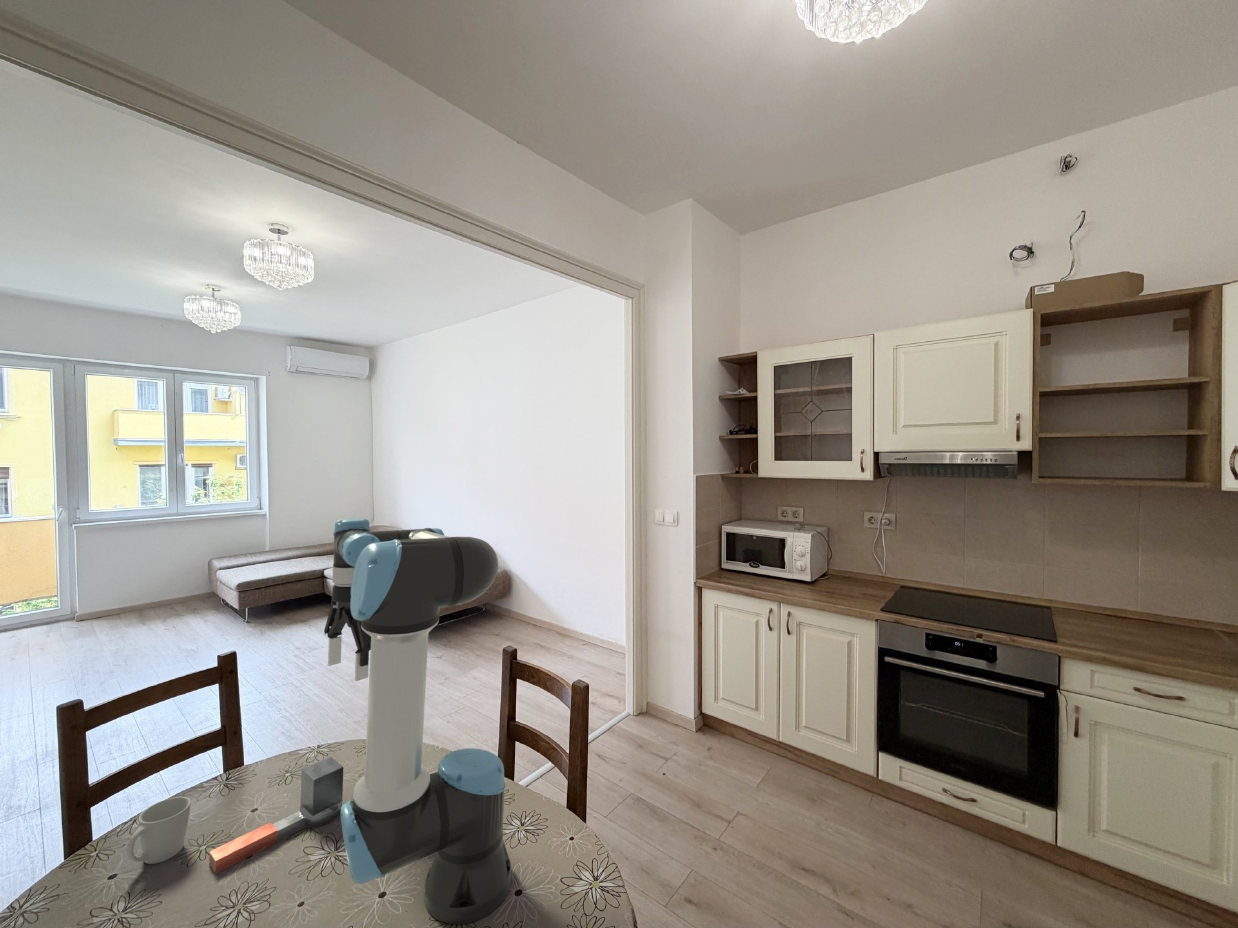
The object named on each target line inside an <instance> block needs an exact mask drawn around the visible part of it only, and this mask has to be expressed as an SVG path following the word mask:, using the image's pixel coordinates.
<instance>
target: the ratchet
mask: <svg viewBox="0 0 1238 928" xmlns="http://www.w3.org/2000/svg"><path fill="white" fill-rule="evenodd" d="M342 805H343V801H342V802H340V803H338V804H336V805H334V806H332V807H330V808H328V809H326V810H324V811H322V812H320V813H318V814H316V815H314V816H312V815H311V814H310V813H309V812H308V811H307V810H306V809H305V808H304V807H303V806H302V805H301V804H300V806H299V810H298V811H297V812H294V813H293V814H291V815H289V816H287V817H284V818H282V819H280V820H278V821H276V822H274V823H272V822H268V823H265V824H263V825H262V826H259V827H258V828H255V829H254V830H252V831H249V832H247V833H246V834H243V835H241V836H239V837H237V838H235V839H233V840H231V841H229V842H227V843H224V844H223V845H220V846H218V847H216V848H213V849H212V850H210V851H209V857H208V858H209V859H208V861H209V863H208V865H209V867H210V868H211V870H212V871H213V873H214V874H215V875H216V874H218V873H220V872H222V871H225V870H226V869H227V868H230V867H231V866H233V865H235V864H237V863H239V862H241V861H243V860H244V859H248V858H249V857H251V856H252V855H254V854H256V853H259V852H260V851H263V850H264V849H267V848H268V847H271V846H272V845H274V844H276V843H278V841H280V840H282V839H284V838H286V837H288V836H289V835H292V834H294V833H296V832H297V831H299V830H302V829H303V828H306V827H307V828H316V827H321V826H323V825H326V824H329V823H331V822H332V821H334V820H335V819H337V818H338V816H339V815H341V807H342Z"/></svg>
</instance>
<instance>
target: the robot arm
mask: <svg viewBox="0 0 1238 928" xmlns="http://www.w3.org/2000/svg"><path fill="white" fill-rule="evenodd" d="M498 571H499V560H498V555H497V553H496V551H495V550H494V548H493V547H492V545H490V544H489V543H488V542H487V541H485V540H483V539H481V538H477V537H472V536H447V535H445V533H444V531H443V529H441V528H431V527H424V528H414V529H411V528H410V529H399V530H398V529H395V530H394V529H393V530H376V531H375V530H374V531H373V530H372V531H371V528H370V521H369V520H368V519H367V518H360V517H359V518H357V517H355V518H354V517H353V518H341V519H338V520H336V521H335V523H334V532H333V564H332V576H331V577H332V578H331V582H332V583H333V585H332V589H331V601H330V609H329V613H328V616H327V620H326V623H325V626H324V629H323V631H324V635H325V634H326V635H327V638H328V653H327V654H328V655H327V666H328V667H331V666H334V665H338V664H341V663H342V635H343V629H344V628H345V625H346V624H347V625H346V626H347V627H348V628H350V630H351V633H352V636H353V639H354V642H355V645H356V649H357V650H355V651H354V653H355V663H354V664H355V665H354V667H355V668H354V669H355V670H354V681H355V682H358V681H360V680H365V679H367V678H369V681H368V695H367V696H368V699H367V717H366V719H367V720H366V736H365V738H366V739H365V741H366V742H365V760H364V774H363V775H362V776H361V778H360V779H359V780H358V781H357V783H356V784H355V786H354V789H353V792H352V800H348V801H347V802H346V803H344V804H342V807H341V813H340V822H341V823H340V824H341V831H342V837H343V843H344V844H343V845H344V850H345V856H346V861H347V865H348V871H349V874H350V877H351V879H352V881H353V882H354V883H355V884H358V885H362V884H366V883H369V882H372V881H374V880H376V879H379V878H381V879H382V878H384V877H386V875H388V874H390V873H393V872H395V871H397V870H399V869H401V868H403V867H406V866H409V865H410V864H413V863H415V862H417V861H419V860H422V859H425V858H427V857H428V856H431V855H433V854H434V855H433V856H434V857H433V858H432V861H431V866H430V868H429V870H428V872H427V874H426V879H425V884H424V898H423V899H424V906H425V907H426V910H427V912H428V913H429V915H431V917H433V918H434V919H436V920H437V921H440V922H442V923H445V924H451V925H452V924H453V925H463V924H468V923H472V922H475V921H478V920H481V919H482V918H483V919H484V917H487V916H488V915H490V914H491V913H493V912H494V911H496V909H497V908H498V907H500V905H501V904H502V903H503V902H504V900H505V899H506V898H507V897H508V896H507V895H508V894H509V892H510V888H511V884H512V863H511V859H510V856H509V854H508V850H507V847H506V844H505V841H504V837H503V835H504V832H503V831H504V807H505V788H506V781H505V769H504V768H505V767H504V764H503V762H502V760H501V759H500V757H498V756H497V755H496V754H495V753H493V752H492V751H489V750H485V749H480V748H476V747H474V748H473V747H468V748H460V749H457V750H453V751H451V752H448V753H447V754H445V755H444V756H443V757H442V758H441V759H440V761H439V763H438V766H437V771H435V772H432V773H430V771H429V769H428V768H427V767H426V766H425V765H422V761H423V743H424V742H423V741H424V723H425V708H426V707H425V702H426V687H427V671H428V670H427V668H428V667H427V665H428V650H429V649H428V648H429V633H430V632H431V631H432V630H434V629H433V628H435V627H436V626H437V625H438V624H439V621H440V610H441V609H442V608H447V607H448V608H449V607H454V606H460V605H464V604H466V603H470V602H472V601H474V600H476V599H477V598H479V597H481V596H482V595H484V593H486V591H487V590H489V588H490V587H491V586H492V585H493V583H494V582H495V579H496V577H497V574H498Z"/></svg>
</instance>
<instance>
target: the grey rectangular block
mask: <svg viewBox="0 0 1238 928" xmlns="http://www.w3.org/2000/svg"><path fill="white" fill-rule="evenodd" d="M300 777H301V779H300V781H301V782H300V783H301V784H300V806H301V805H302V806H303V807H304V808H305V809H306V810H307V811H308V812H309V813H310V814H311V815H312V816H314V815H316V814H318V813H320V812H322V811H324V810H326V809H328V808H330V807H332V806H334V805H336V804H338V803H340V802H342V803H343V793H344V792H343V791H344V789H343V788H344V787H343V786H344V766H343V765H342V764H341V763H339V762H338V761H337V760H336V759H334V758H333V757H332V756H329V757H327V758H325V759H322V760H320V761H318V762H315V763H313V764H311V765H309V766H306V767H304V768H301V776H300Z"/></svg>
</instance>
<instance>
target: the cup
mask: <svg viewBox="0 0 1238 928" xmlns="http://www.w3.org/2000/svg"><path fill="white" fill-rule="evenodd" d="M191 805H192V800H191V799H190V798H189V797H187V796H176V797H175V796H174V797H170V798H167V799H163V800H161V801H159V802H158V801H157V802H156V803H154V804H152V805H150V806H149V807H147V808H145V809H144V810H143V811H142V812H141V813H140V815H139V817H138V828H137V829H136V831H134V833H133V834H132V836H131V837H130V838H129V841H128V843H127V847H126V853H127V854H126V855H127V858H128V859H129V860H130V861H132V862H134V863H141V862H144V863H145V864H148V865H152V864H159V863H163V862H165V861H168V860H170V859H172V858H173V857H174V856H176V855H177V854H178V853H180V852H181V850H182V849H183V848H184V844H185V839H186V836H187V835H186V834H187V828H188V823H189V819H190V818H189V817H190V812H191ZM139 838H140V846H141V851H142V852H141V855H139V856H136V855H135V853H134V847H135V843H136V841H137V839H139Z"/></svg>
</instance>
